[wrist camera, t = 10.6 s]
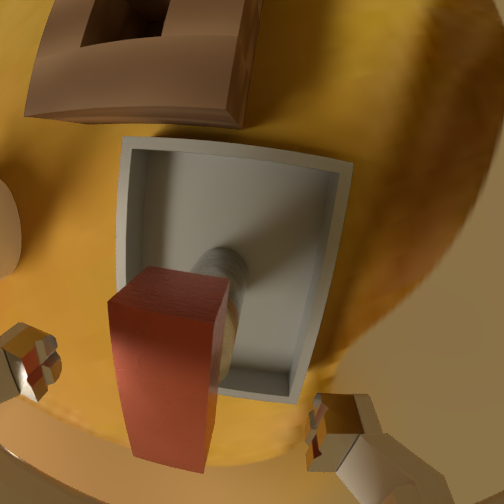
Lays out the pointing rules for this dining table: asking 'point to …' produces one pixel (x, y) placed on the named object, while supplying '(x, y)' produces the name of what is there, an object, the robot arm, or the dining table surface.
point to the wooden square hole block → (145, 62)
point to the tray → (240, 241)
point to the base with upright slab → (9, 232)
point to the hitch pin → (176, 354)
